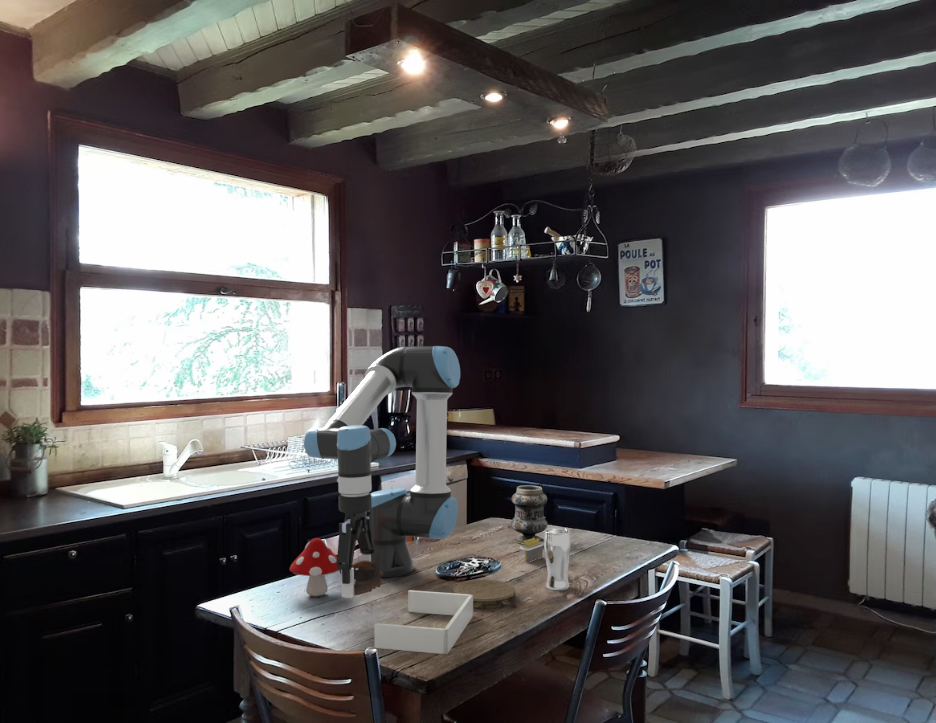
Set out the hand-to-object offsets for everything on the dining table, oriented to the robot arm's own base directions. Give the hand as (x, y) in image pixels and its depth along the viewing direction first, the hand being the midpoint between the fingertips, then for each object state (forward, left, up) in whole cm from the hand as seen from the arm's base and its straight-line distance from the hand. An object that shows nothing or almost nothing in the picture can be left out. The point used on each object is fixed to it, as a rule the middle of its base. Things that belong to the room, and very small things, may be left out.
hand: (356, 589), depth 173 cm
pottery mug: (0, +1, -1) cm, 1 cm away
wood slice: (-23, +25, -9) cm, 35 cm away
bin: (+1, +17, -8) cm, 19 cm away
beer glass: (-37, +42, -8) cm, 57 cm away
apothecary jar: (-84, +27, -8) cm, 89 cm away
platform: (-62, +31, -9) cm, 70 cm away
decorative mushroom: (-17, -18, -8) cm, 27 cm away
